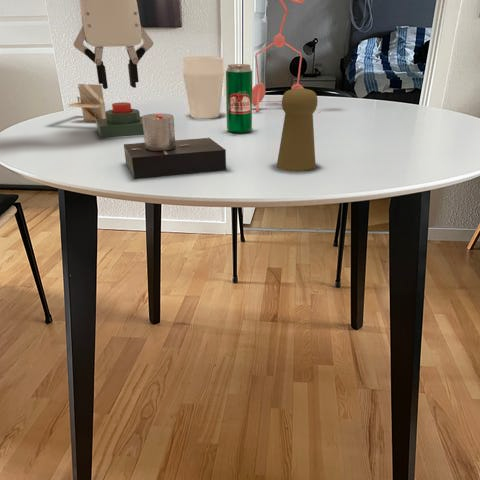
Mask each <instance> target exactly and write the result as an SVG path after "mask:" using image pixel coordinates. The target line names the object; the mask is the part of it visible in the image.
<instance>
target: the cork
mask: <svg viewBox="0 0 480 480" xmlns="http://www.w3.org/2000/svg"><path fill="white" fill-rule="evenodd" d="M303 88H304V87H303ZM303 88H297V89H288V90H286V91H284V93H283V95H282V98H281V101H282V102H281V108H282V110H283V112H284V119H283V125H282V129H281V130H282V132H281V136H280V144H279V149H278V155H277V161H276V167H277V168H278V169H280V170H283V171H288V172H307V171H311V170H314V169H315V168H316V149H315V148H316V147H315V131H314V112H315V111H316V110H317V107H318V96H317V93H316V92H315V91H314V90H311V89H308V88H304V89H303Z"/></svg>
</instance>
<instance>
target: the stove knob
mask: <svg viewBox="0 0 480 480" xmlns="http://www.w3.org/2000/svg"><path fill="white" fill-rule="evenodd" d="M141 116H142V121H143V131H144V135H143V141H144V143H145V149H147V150H150V151H167V150H172V149H174V148H175V147H176V144H175V140H176V132H175V131H176V130H175V118H174V117H175V115H173V114H171V113H163V112H161V113H149V114H143V115H141Z"/></svg>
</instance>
